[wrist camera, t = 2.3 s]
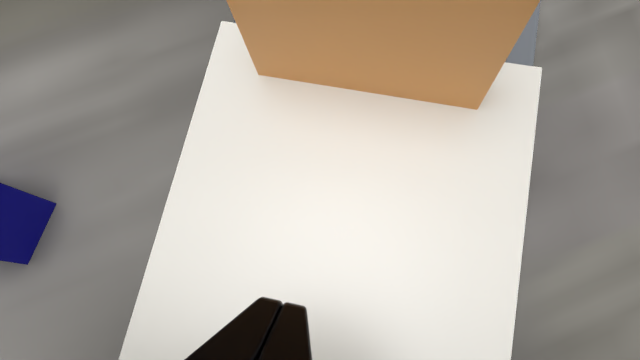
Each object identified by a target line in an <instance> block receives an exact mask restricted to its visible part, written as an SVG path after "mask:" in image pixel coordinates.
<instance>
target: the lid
mask: <svg viewBox="0 0 640 360" xmlns="http://www.w3.org/2000/svg"><path fill="white" fill-rule="evenodd" d="M539 2H540V0H227V3H228V5H229V7H230V10H231V12H232V14H233V17H234V19H235V21H236V23H231V22H224V21H221V25H220V28H219V31H218V35H217V38H216V41H215V44H214V48H213V51H212V54H211V58H210V61H209V64H208V67H207V71H206V74H205V77H204V81H203V84H202V87H201V90H200V94H199V97H198V100H197V104H196V107H195V110H194V113H193V117H192V120H191V123H190V127H189V130H188V133H187V136H186V140H185V143H184V146H183V150H182V153H181V156H180V159H179V163H178V166H177V169H176V173H175V176H174V179H173V182H172V186H171V189H170V192H169V196H168V199H167V202H166V205H165V209H164V212H163V215H162V219H161V222H160V225H159V228H158V232H157V235H156V238H155V242H154V245H153V248H152V251H151V255H150V258H149V261H148V265H147V268H146V271H145V274H144V278H143V281H142V284H141V288H140V291H139V294H138V297H137V301H136V304H135V307H134V311H133V314H132V317H131V320H130V324H129V327H128V330H127V334H126V337H125V340H124V343H123V347H122V350H121V353H120V357H119V360H184V359H186V358H187V357H188V356H189V355H191V354H192V353H193V352H194V351H195V350H197V349H198V348H199V347H200V346H201V345H203V344H204V343H205V342H206V341H207V340H209V339H210V338H211V337H212V336H213V335H215V334H216V333H217V332H218V331H219V330H221V329H222V328H223V327H224V326H226V325H227V324H228V323H229V322H230V321H232V320H233V319H234V318H235V317H236V316H238V315H239V314H240V313H241V312H242V311H244V310H245V309H246V308H247V307H248V306H250V305H251V304H252V303H253V302H254V301H256V300H257V299H258V298H260V297H267V298H272V299H276V300H280V301H281V302H282V303H283V304H284V303H285V302H289V303H294V304H298V305H303V306H305V307H306V309H307V315H308V325H309V334H310V343H311V352H312V360H511V352H512V343H513V334H514V324H515V315H516V306H517V296H518V287H519V278H520V268H521V259H522V250H523V240H524V231H525V222H526V213H527V203H528V194H529V185H530V175H531V166H532V157H533V147H534V138H535V129H536V119H537V110H538V101H539V92H540V82H541V73H542V68H541V67H534V66H527V65H520V64H513V63H506V62H505V61H506V59H507V57H508V56H509V54H510V52H511V50H512V49H513V47H514V45H515V43H516V42H517V40H518V38H519V36H520V35H521V33H522V31H523V30H524V28H525V26H526V24H527V23H528V21H529V19H530V17H531V16H532V14H533V12H534V10H535V9H536V7H537V5H538V3H539Z"/></svg>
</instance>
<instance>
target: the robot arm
mask: <svg viewBox="0 0 640 360" xmlns="http://www.w3.org/2000/svg"><path fill="white" fill-rule="evenodd" d="M184 360H312V352H311V343H310V334H309V325H308V315H307V309H306V307H305V306H303V305H298V304H294V303H289V302H285V303H284V304H283V303H282V302H281V301H280V300H276V299H272V298H267V297H260V298H258V299H257V300H256V301H254V302H253V303H252V304H251V305H250V306H248V307H247V308H246V309H245V310H244V311H242V312H241V313H240V314H239V315H238V316H236V317H235V318H234V319H233V320H232V321H230V322H229V323H228V324H227V325H226V326H224V327H223V328H222V329H221V330H219V331H218V332H217V333H216V334H215V335H213V336H212V337H211V338H210V339H209V340H207V341H206V342H205V343H204V344H203V345H201V346H200V347H199V348H198V349H197V350H195V351H194V352H193V353H192V354H191V355H189V356H188V357H187V358H186V359H184Z"/></svg>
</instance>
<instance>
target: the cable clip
mask: <svg viewBox="0 0 640 360" xmlns="http://www.w3.org/2000/svg"><path fill="white" fill-rule="evenodd" d="M55 206H56V203H53V202H51V201H48V200H45V199H42V198H40V197H37V196H34V195H32V194H29V193H26V192H23V191H21V190H18V189H15V188H12V187H10V186H7V185H4V184H1V183H0V261H7V262H14V263H20V264H27V265H28V263H29V261H30V259H31V257H32V255H33V252H34V250H35V248H36V246H37V244H38V242H39V240H40V238H41V235H42V233H43V231H44V229H45V227H46V225H47V223H48V221H49V218H50V216H51V214H52V212H53V210H54V208H55Z"/></svg>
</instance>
